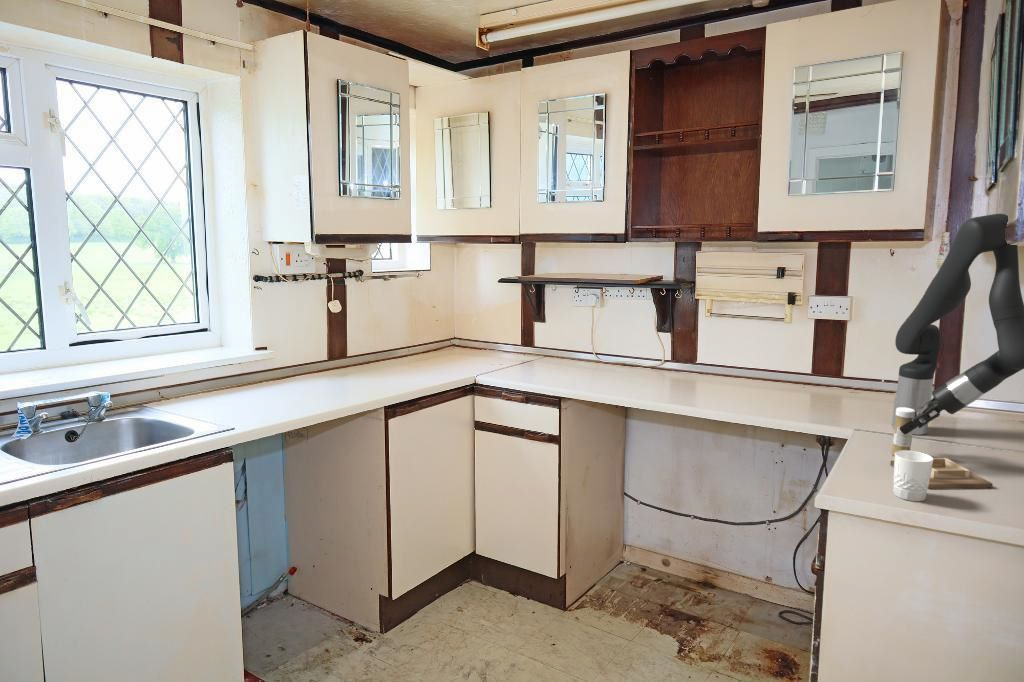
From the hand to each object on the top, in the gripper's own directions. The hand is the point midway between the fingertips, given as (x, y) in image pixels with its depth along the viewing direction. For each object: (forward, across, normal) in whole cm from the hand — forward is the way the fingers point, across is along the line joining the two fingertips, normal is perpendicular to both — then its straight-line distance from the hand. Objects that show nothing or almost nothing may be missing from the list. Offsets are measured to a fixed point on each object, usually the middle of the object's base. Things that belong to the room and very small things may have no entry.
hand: (903, 427), depth 188 cm
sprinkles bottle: (+6, 0, +6) cm, 8 cm away
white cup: (+3, +30, +9) cm, 32 cm away
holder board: (-1, +12, +13) cm, 17 cm away
